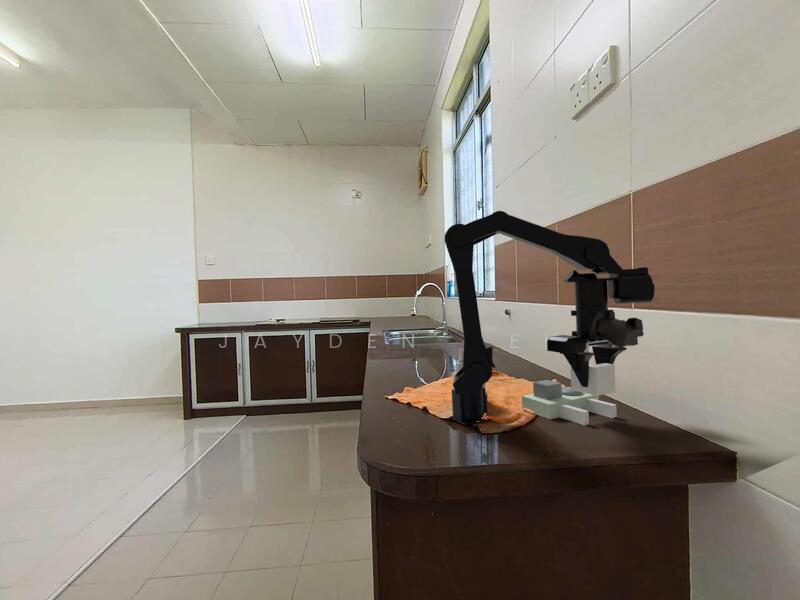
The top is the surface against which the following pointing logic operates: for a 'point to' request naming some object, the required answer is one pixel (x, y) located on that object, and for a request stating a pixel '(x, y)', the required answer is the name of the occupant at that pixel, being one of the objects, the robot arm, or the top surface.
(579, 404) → the green block with prongs
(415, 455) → the top surface
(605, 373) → the white lidded box
